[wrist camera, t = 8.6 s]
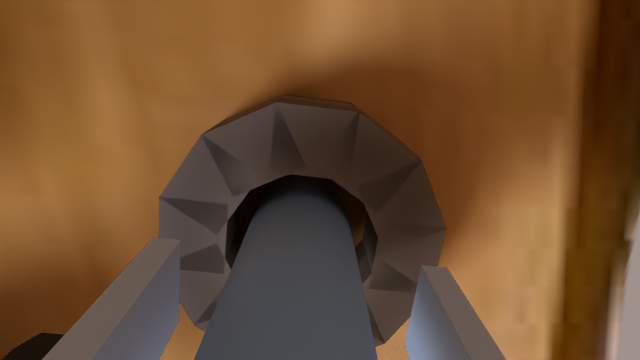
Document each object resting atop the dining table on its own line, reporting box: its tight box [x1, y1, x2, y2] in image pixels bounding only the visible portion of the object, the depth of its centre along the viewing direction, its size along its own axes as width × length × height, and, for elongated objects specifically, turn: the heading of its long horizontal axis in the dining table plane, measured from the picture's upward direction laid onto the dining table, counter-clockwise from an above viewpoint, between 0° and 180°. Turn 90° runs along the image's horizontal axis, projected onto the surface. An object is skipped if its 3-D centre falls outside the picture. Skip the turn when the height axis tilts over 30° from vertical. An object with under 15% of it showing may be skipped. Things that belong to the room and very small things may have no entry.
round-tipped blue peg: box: [194, 175, 378, 360], centre depth 10 cm, size 4×4×16 cm
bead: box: [159, 95, 446, 347], centre depth 16 cm, size 10×10×3 cm
